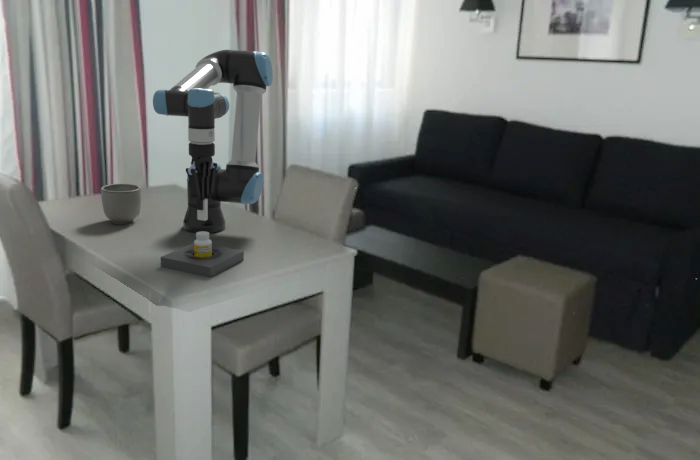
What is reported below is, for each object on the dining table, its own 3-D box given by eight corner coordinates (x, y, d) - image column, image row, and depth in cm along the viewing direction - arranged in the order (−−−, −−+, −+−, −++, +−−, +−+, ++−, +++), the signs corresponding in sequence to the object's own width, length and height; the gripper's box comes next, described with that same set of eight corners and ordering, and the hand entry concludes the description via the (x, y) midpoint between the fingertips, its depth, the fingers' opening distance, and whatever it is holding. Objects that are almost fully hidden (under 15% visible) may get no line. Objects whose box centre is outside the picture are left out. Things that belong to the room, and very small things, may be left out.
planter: (94, 223, 234) (92, 188, 230) (120, 214, 246) (119, 181, 242) (124, 229, 229) (123, 193, 225) (150, 220, 241) (149, 186, 238)
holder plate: (160, 266, 195) (160, 257, 194) (196, 250, 211) (196, 241, 210) (210, 277, 188) (210, 267, 187) (243, 259, 204) (243, 250, 204)
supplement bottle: (195, 260, 202) (195, 230, 199) (213, 260, 202) (213, 230, 200) (192, 265, 197) (192, 235, 194) (210, 266, 197) (210, 235, 194)
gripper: (199, 146, 182) (200, 226, 188) (224, 141, 193) (225, 216, 200) (177, 143, 184) (179, 222, 191) (204, 138, 196) (204, 213, 203)
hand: (202, 219), depth 196 cm, fingers closed
